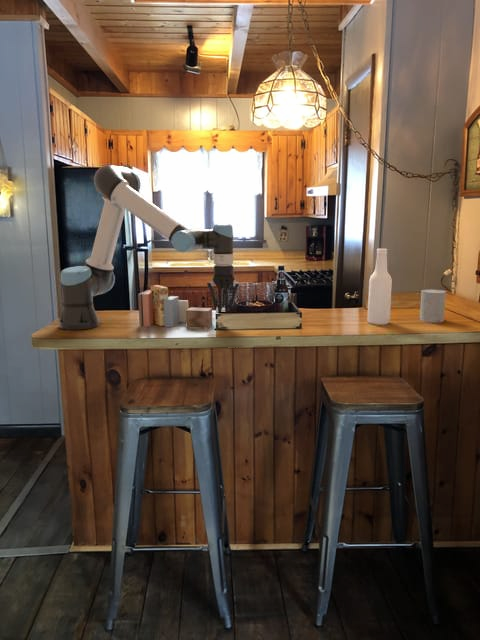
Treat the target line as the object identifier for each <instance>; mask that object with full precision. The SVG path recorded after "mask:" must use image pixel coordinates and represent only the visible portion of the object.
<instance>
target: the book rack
mask: <svg viewBox="0 0 480 640" xmlns="http://www.w3.org/2000/svg"><path fill="white" fill-rule="evenodd" d="M148 291H151V290H150V289H147V290H145V291H142V292H141V293H137V298H138V300H137V301H138V302H137V303H138V320H139V324H138V325H139V327H144V323H143V301H142V294H143V293H146V292H148ZM187 309H189V300H188V299H187V300H185V299H184V300H183V299H181V300H180V299H179V323H186V310H187Z"/></svg>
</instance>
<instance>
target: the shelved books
mask: <svg viewBox="0 0 480 640" xmlns="http://www.w3.org/2000/svg"><path fill="white" fill-rule="evenodd" d="M179 300H180V299H179V296H178V295H177V296H175V295H170V296H168V299H164V321H165V325H164V328H165V327H166V328H174V327H175V326H177V325H178V324H179V323H180V322H179ZM142 301H143V323H144V325H143V327H151V326H152V325H154V324H155V323H154V316H153V296H152V292H151V291H148V292H146V293H143V294H142Z"/></svg>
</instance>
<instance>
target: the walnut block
mask: <svg viewBox="0 0 480 640" xmlns="http://www.w3.org/2000/svg"><path fill="white" fill-rule="evenodd" d="M185 324H186V327H185V328H195V329H196V328H197V329H209V328H211V327H212V326H213V308H212V307H192V306H191V307H188V309H187V310H186V322H185Z"/></svg>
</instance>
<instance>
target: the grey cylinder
mask: <svg viewBox="0 0 480 640" xmlns="http://www.w3.org/2000/svg"><path fill="white" fill-rule="evenodd" d="M446 296H447V291H446V290H443V289H433V288H429V289H428V288H426V289H421V293H420V309H419V310H420V311H419V319H418V320H419V321H421V322H426V323H434V324H435V323H436V324H437V323H443V322H444V321H445V307H446Z"/></svg>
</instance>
